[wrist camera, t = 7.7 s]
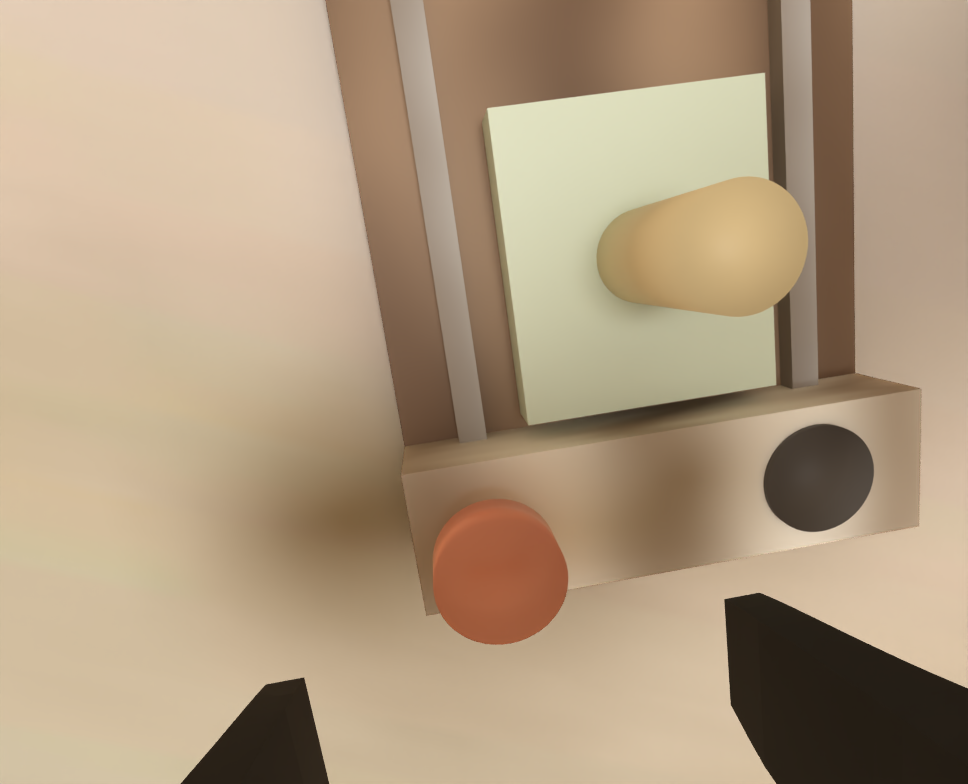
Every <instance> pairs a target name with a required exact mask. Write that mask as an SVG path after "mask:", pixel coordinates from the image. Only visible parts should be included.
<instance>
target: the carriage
mask: <svg viewBox="0 0 968 784" xmlns="http://www.w3.org/2000/svg"><path fill="white" fill-rule="evenodd" d="M482 127H483V134H484V142H485V149H486V157H487V164H488V172H489V179H490V187H491V195H492V202H493V210H494V217H495V225H496V232H497V240H498V247H499V255H500V263H501V270H502V278H503V285H504V293H505V300H506V308H507V315H508V323H509V331H510V338H511V346H512V353H513V361H514V368H515V376H516V383H517V391H518V399H519V406H520V413H521V415H522V416H523V418H524V419H525V421H526V423H527V424H528V425H535V424H541V423H547V422H553V421H559V420H565V419H571V418H578V417H584V416H590V415H596V414H602V413H608V412H614V411H620V410H627V409H633V408H639V407H645V406H651V405H657V404H663V403H670V402H676V401H682V400H688V399H694V398H700V397H706V396H713V395H719V394H725V393H731V392H737V391H743V390H749V389H755V388H762V387H768V386H774V385H776V362H775V335H774V308H773V305H775V304H776V303H778V302H779V301H780V300H781V299H782V298H783V297H785V296H786V294H787V293H788V292H789V291H790V290H791V289H792V287H793V286H794V284H795V283H796V281H797V280H798V278H799V276H800V274H801V272H802V269H803V267H804V264H805V260H806V256H807V250H808V231H807V226H806V221H805V218H804V215H803V212H802V211H801V209H800V207H799V205H798V203H797V202H796V200H795V199H794V198H793V197H792V196H791V195H790V193H789V192H788V191H786V190H785V189H784V188H783V187H781V186H780V185H778V184H776V183H774V182H772V181H770V180H769V171H768V143H767V116H766V89H765V73H758V74H750V75H742V76H735V77H727V78H719V79H711V80H703V81H696V82H688V83H680V84H672V85H664V86H657V87H649V88H641V89H633V90H625V91H617V92H610V93H602V94H594V95H586V96H578V97H571V98H563V99H555V100H547V101H539V102H532V103H524V104H516V105H508V106H500V107H492V108H487V110H486V113H485V116H484V118H483V121H482Z"/></svg>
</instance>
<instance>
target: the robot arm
mask: <svg viewBox="0 0 968 784" xmlns="http://www.w3.org/2000/svg"><path fill="white" fill-rule="evenodd" d="M724 600H725V616H726V633H727V649H728V666H729V682H730V699H731V706H732V708H733V709H734V711H735V713H736V715H737V717H738V719H739V721H740V723H741V725H742V726H743V728H744V730H745V732H746V734H747V736H748V738H749V739H750V741H751V743H752V745H753V747H754V748H755V750H756V752H757V754H758V755H759V757H760V759H761V761H762V763H763V764H764V766H765V768H766V769H767V770H768V772H769V773H770V775H771V776H772V778H773V779H774V781H775V782H776V784H968V688H965V687H963V686H961V685H958V684H956V683H954V682H951V681H949V680H946V679H944V678H942V677H939V676H937V675H935V674H932V673H930V672H928V671H926V670H923V669H921V668H919V667H917V666H914V665H912V664H910V663H908V662H906V661H903V660H901V659H899V658H897V657H895V656H893V655H890V654H888V653H886V652H884V651H882V650H880V649H878V648H875V647H873V646H871V645H869V644H867V643H865V642H863V641H861V640H859V639H857V638H854V637H852V636H850V635H848V634H846V633H844V632H842V631H840V630H838V629H836V628H834V627H832V626H830V625H828V624H826V623H824V622H822V621H819V620H817V619H815V618H813V617H811V616H809V615H807V614H805V613H803V612H801V611H799V610H797V609H795V608H793V607H791V606H788V605H786V604H784V603H782V602H780V601H778V600H775V599H773V598H771V597H768V596H766V595H764V594H761V593H756V594H750V595H745V596H740V597H734V598H729V599H724ZM181 784H329V781H328V777H327V773H326V768H325V764H324V760H323V756H322V752H321V747H320V743H319V739H318V735H317V730H316V726H315V722H314V718H313V713H312V709H311V705H310V701H309V696H308V692H307V688H306V684H305V679H304V678H299V679H294V680H288V681H283V682H278V683H272V684H267V685H265V686H264V687H263V688H262V689H261V691H260V692H259V693H258V694H257V695H256V696H255V697H254V698H253V700H252V701H251V702H250V703H249V704H248V705H247V707H246V708H245V709H244V710H243V711H242V713H241V714H240V715H239V716H238V717H237V718H236V720H235V721H234V722H233V723H232V724H231V726H230V727H229V728H228V729H227V730H226V732H225V733H224V734H223V735H222V736H221V737H220V739H219V740H218V741H217V742H216V743H215V745H214V746H213V747H212V748H211V749H210V750H209V752H208V753H207V754H206V755H205V756H204V757H203V758H202V760H201V761H200V762H199V763H198V764H197V765H196V767H195V768H194V769H193V770H192V771H191V772H190V774H189V775H188V776H187V777H186V778H185V779H184V780H183V782H182V783H181Z"/></svg>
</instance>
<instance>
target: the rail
mask: <svg viewBox="0 0 968 784" xmlns="http://www.w3.org/2000/svg"><path fill="white" fill-rule="evenodd" d="M325 1H326V6H327V12H328V18H329V23H330V29H331V35H332V40H333V46H334V51H335V57H336V63H337V68H338V74H339V80H340V85H341V91H342V96H343V102H344V108H345V113H346V119H347V125H348V130H349V136H350V141H351V147H352V153H353V158H354V164H355V170H356V175H357V181H358V186H359V192H360V198H361V203H362V209H363V215H364V220H365V226H366V231H367V237H368V243H369V248H370V254H371V260H372V265H373V271H374V276H375V282H376V288H377V293H378V299H379V305H380V310H381V316H382V321H383V327H384V333H385V338H386V344H387V350H388V355H389V361H390V366H391V372H392V378H393V383H394V389H395V395H396V400H397V406H398V411H399V417H400V423H401V428H402V434H403V440H404V445H405V448H404V456H403V463H402V471H401V479H402V484H403V490H404V495H405V501H406V506H407V512H408V517H409V523H410V528H411V534H412V539H413V545H414V550H415V556H416V561H417V567H418V572H419V578H420V583H421V589H422V594H423V600H424V605H425V611H426V616H427V615H433V614H438V613H440V612H439V610H438V607H437V605H436V602H435V598H434V591H433V551H434V546H435V543H436V540H437V537H438V535H439V533H440V531H441V530H442V528H443V527H444V525H445V524H446V523H447V522H448V520H449V519H450V518H451V517H452V516H454V515H455V514H456V513H457V512H459V511H460V510H462V509H463V508H465V507H467V506H469V505H471V504H473V503H476V502H479V501H483V500H488V499H507V500H513V501H516V502H520V503H522V504H524V505H527V506H528V507H530V508H532V509H533V510H535V511H536V512H537V513H538V514H540V515H541V516H542V518H543V519H544V520H545V521H546V522H547V524H548V525H549V527H550V529H551V531H552V533H553V535H554V537H555V539H556V541H557V543H558V545H559V547H560V549H561V551H562V553H563V555H564V558H565V561H566V564H567V569H568V588H567V590H571V589H576V588H582V587H587V586H593V585H598V584H604V583H609V582H615V581H620V580H626V579H631V578H637V577H642V576H648V575H653V574H659V573H664V572H670V571H675V570H681V569H686V568H692V567H697V566H703V565H708V564H714V563H719V562H725V561H730V560H736V559H741V558H747V557H752V556H758V555H763V554H769V553H774V552H780V551H785V550H791V549H796V548H802V547H807V546H813V545H818V544H824V543H829V542H835V541H841V540H846V539H852V538H857V537H863V536H868V535H874V534H879V533H885V532H890V531H896V530H901V529H907V528H912V527H918V526H919V501H920V442H921V389H920V388H916V387H912V386H908V385H903V384H899V383H895V382H891V381H886V380H882V379H878V378H873V377H869V376H865V375H861V374H856V373H855V313H854V180H853V46H852V0H325ZM758 73H765V89H766V116H767V143H768V171H769V180H770V181H772V182H774V183H776V184H778V185H780V186H781V187H783V188H784V189H785V190H786V191H788V192H789V193H790V195H791V196H792V197H793V198H794V199H795V200H796V202H797V203H798V205H799V207H800V209H801V211H802V212H803V215H804V218H805V221H806V226H807V231H808V250H807V256H806V260H805V264H804V267H803V269H802V272H801V274H800V276H799V278H798V280H797V281H796V283H795V284H794V286H793V287H792V289H791V290H790V291H789V292H788V293H787V294H786V296H785V297H783V298H782V299H781V300H780V301H779V302H778V303H776V304H775V305H773V308H774V335H775V362H776V385H774V386H768V387H762V388H755V389H749V390H743V391H737V392H731V393H725V394H719V395H713V396H706V397H700V398H694V399H688V400H682V401H676V402H670V403H663V404H657V405H651V406H645V407H639V408H633V409H627V410H620V411H614V412H608V413H602V414H596V415H590V416H584V417H578V418H571V419H565V420H559V421H553V422H547V423H541V424H535V425H528V424H527V423H526V421H525V419H524V418H523V416H522V415H521V413H520V406H519V399H518V391H517V383H516V376H515V368H514V361H513V353H512V346H511V338H510V331H509V323H508V315H507V308H506V300H505V293H504V285H503V278H502V270H501V263H500V255H499V247H498V240H497V232H496V225H495V217H494V210H493V202H492V195H491V187H490V179H489V172H488V164H487V157H486V149H485V142H484V134H483V127H482V121H483V118H484V116H485V113H486V110H487V108H492V107H500V106H508V105H516V104H524V103H532V102H539V101H547V100H555V99H563V98H571V97H578V96H586V95H594V94H602V93H610V92H617V91H625V90H633V89H641V88H649V87H657V86H664V85H672V84H680V83H688V82H696V81H703V80H711V79H719V78H727V77H735V76H742V75H750V74H758Z"/></svg>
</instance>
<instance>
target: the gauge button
mask: <svg viewBox="0 0 968 784" xmlns="http://www.w3.org/2000/svg"><path fill="white" fill-rule="evenodd" d="M567 588H568V569H567V564H566V561H565V558H564V555H563V553H562V551H561V549H560V547H559V545H558V543H557V541H556V539H555V537H554V535H553V533H552V531H551V529H550V527H549V525H548V524H547V522H546V521H545V520H544V519H543V518H542V516H541V515H540V514H538V513H537V512H536V511H535V510H533V509H532V508H530V507H528V506H527V505H524V504H522V503H520V502H516V501H513V500H507V499H488V500H483V501H479V502H476V503H473V504H471V505H469V506H467V507H465V508H463V509H462V510H460V511H459V512H457V513H456V514H455V515H454V516H452V517H451V518H450V519H449V520H448V522H447V523H446V524H445V525H444V527H443V528H442V530H441V531H440V533H439V535H438V537H437V540H436V543H435V546H434V551H433V591H434V598H435V602H436V605H437V607H438V610H439V612H440V613H441V615H442V617H443V618H444V620H445V621H446V622H447V623H448V624H449V625H450V626H451V627H452V628H453V629H454V630H455V631H457V632H458V633H459V634H461V635H463V636H464V637H466V638H468V639H471V640H473V641H476V642H480V643H485V644H509V643H514V642H518V641H521V640H523V639H526V638H528V637H530V636H532V635H534V634H536V633H537V632H539V631H540V630H542V629H543V628H544V627H545V626H546V625H548V624H549V623H550V622H551V620H552V619H553V618H554V617H555V616H556V614H557V613H558V611H559V610H560V608H561V606H562V604H563V602H564V599H565V597H566V593H567Z"/></svg>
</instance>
